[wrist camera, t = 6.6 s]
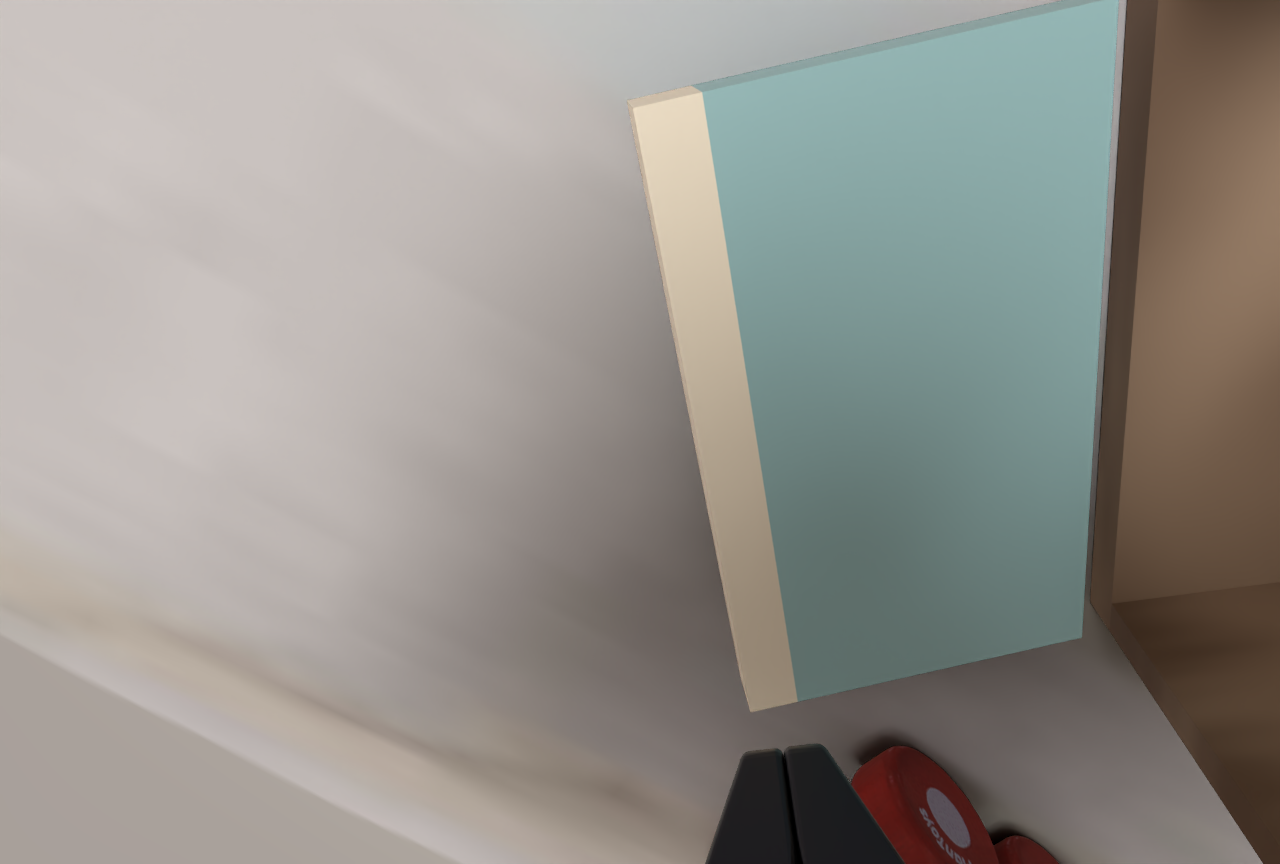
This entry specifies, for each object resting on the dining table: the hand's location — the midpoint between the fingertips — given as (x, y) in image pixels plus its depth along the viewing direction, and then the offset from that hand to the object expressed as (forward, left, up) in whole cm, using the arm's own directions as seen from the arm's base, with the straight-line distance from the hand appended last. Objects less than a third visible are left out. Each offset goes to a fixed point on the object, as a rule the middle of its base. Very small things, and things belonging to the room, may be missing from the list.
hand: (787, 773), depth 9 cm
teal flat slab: (-6, 0, -9) cm, 10 cm away
